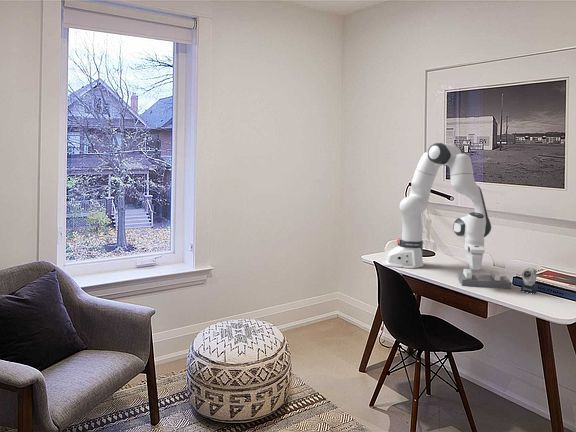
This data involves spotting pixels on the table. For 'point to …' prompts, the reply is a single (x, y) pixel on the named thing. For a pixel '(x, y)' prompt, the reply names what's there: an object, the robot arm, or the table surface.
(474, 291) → the table surface
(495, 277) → the right switch
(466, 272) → the left switch
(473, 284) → the power strip
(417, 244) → the robot arm
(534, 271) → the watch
